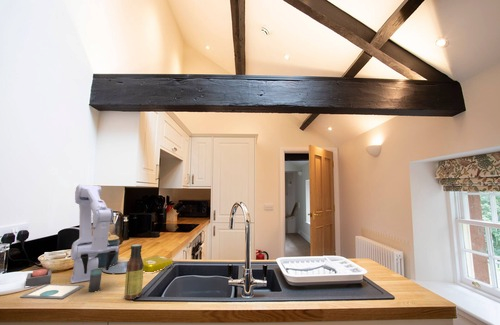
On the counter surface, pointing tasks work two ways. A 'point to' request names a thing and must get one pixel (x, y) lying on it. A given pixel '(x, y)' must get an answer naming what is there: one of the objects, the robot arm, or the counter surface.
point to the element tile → (155, 263)
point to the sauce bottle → (134, 273)
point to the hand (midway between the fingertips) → (96, 271)
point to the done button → (39, 272)
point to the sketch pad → (53, 291)
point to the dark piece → (95, 280)
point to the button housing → (38, 279)
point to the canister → (103, 256)
